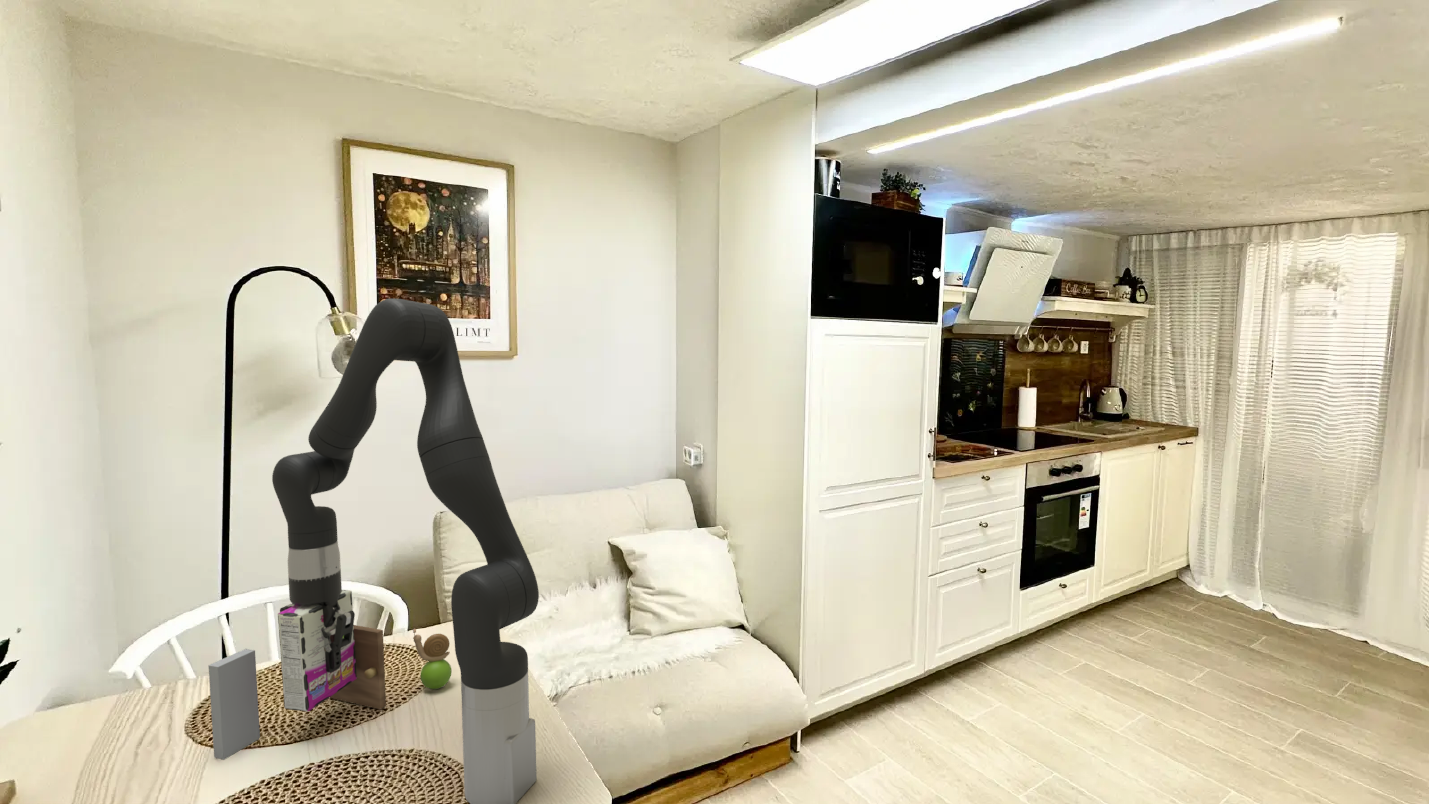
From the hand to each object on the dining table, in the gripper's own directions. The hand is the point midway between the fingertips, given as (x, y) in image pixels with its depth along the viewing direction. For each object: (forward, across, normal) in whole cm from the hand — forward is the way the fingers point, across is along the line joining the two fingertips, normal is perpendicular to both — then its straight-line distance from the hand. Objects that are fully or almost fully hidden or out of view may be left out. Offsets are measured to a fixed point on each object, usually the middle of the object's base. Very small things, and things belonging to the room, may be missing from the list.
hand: (319, 667), depth 112 cm
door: (+10, 0, -7) cm, 12 cm away
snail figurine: (+10, -9, -16) cm, 21 cm away
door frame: (+10, +8, 0) cm, 13 cm away
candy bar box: (+5, 0, 0) cm, 5 cm away
